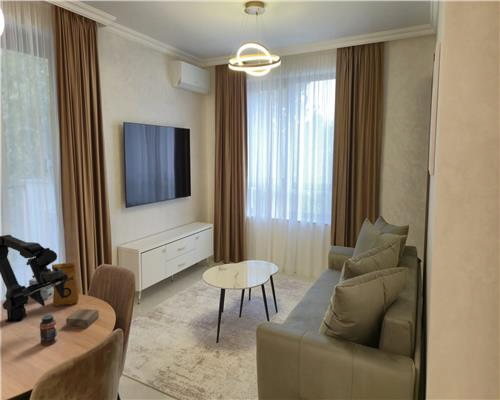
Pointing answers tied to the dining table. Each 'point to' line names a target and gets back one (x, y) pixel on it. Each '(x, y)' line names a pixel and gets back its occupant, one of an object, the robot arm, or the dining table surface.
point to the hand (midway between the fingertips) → (53, 302)
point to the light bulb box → (43, 289)
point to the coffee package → (67, 285)
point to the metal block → (82, 318)
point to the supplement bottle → (48, 330)
